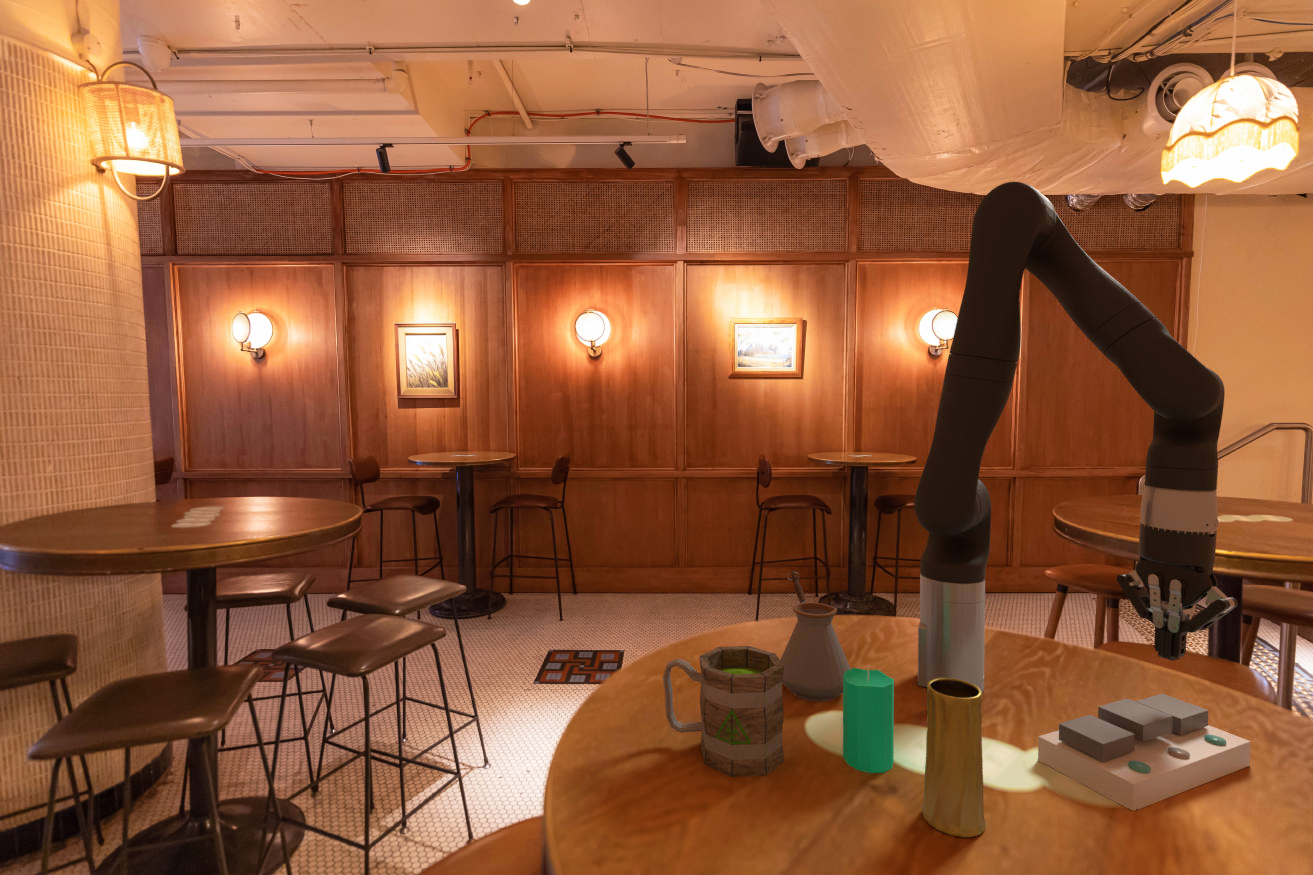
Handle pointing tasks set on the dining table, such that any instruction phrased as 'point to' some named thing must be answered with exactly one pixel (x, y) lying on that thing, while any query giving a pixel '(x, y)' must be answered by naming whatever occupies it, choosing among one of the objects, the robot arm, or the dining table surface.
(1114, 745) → the front key
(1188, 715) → the back key
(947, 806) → the vase
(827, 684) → the coffee pot
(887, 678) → the candle
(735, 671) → the mug
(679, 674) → the dining table surface
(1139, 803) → the keypad
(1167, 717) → the middle key
